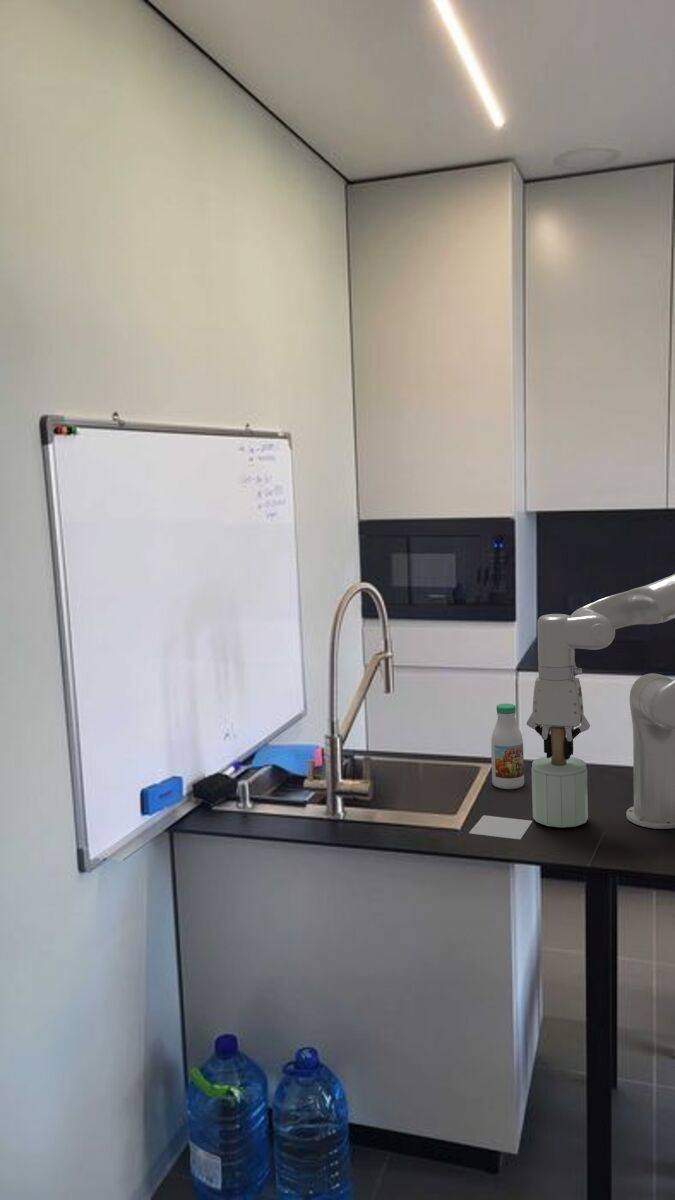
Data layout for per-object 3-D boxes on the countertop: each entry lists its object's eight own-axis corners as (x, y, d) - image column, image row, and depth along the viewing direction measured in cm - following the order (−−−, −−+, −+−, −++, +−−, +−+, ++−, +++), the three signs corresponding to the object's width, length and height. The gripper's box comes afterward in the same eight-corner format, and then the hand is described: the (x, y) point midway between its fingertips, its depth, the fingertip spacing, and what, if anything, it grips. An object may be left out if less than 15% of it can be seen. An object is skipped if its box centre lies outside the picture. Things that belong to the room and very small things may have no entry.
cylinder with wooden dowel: (591, 811, 198) (589, 722, 196) (581, 829, 188) (579, 735, 186) (540, 806, 203) (537, 719, 201) (528, 823, 193) (525, 732, 191)
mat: (532, 823, 197) (532, 820, 197) (520, 842, 187) (520, 839, 187) (483, 817, 202) (483, 815, 202) (468, 835, 192) (468, 833, 192)
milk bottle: (485, 785, 223) (483, 706, 221) (505, 777, 228) (502, 700, 226) (511, 792, 218) (509, 710, 215) (530, 784, 223) (528, 704, 220)
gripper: (599, 670, 192) (601, 755, 194) (522, 667, 199) (524, 749, 201) (593, 678, 185) (595, 765, 187) (513, 674, 192) (516, 759, 194)
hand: (558, 756), depth 194 cm, fingers closed on cylinder with wooden dowel, 3 cm apart
